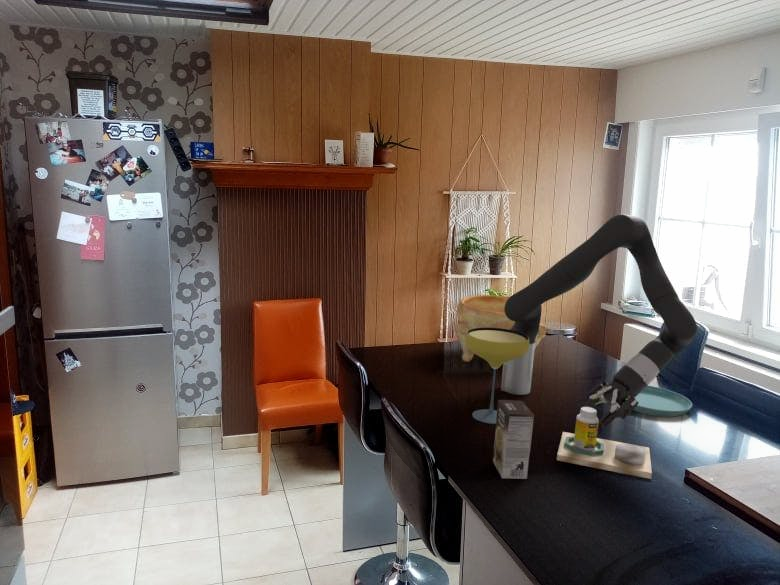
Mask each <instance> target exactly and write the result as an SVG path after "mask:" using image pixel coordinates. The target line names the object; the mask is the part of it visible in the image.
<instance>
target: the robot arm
mask: <svg viewBox="0 0 780 585" xmlns="http://www.w3.org/2000/svg"><path fill="white" fill-rule="evenodd" d="M619 248H624V249H627V251H628V252H629V253H630V254H631V256H632V257H633V259H634V260H635V263H636V265H637V267H638V272H639V276H640V277H639V278H640V283H641V284H640V285H641V288H642V290H643V292H644V294H645V297H646V298H647V300H648V302H649V305H650V306H651V307H652V309H653V311H654V312H655V313H656V314H657V315H660V317H661V319H662V321H663V323H664V325H665V326H666V327H665V328H664V329H663V330H662V331H661V333H660V334H658V336H656V338H654V339H653V340H651V341H649V342H648V343H647V344H646V345H645V346H644V347H643V348H641V350H640V351H639V352H638V353H636V354H635V355H634V356H632V357H631V358H630V359H628V361H627V362H626V363H625V364H624V365H623V366H622V367H621V368H620V369H619V370H618V371H617V372H616V373H614V375H613V377H612V381H611V382H610V383H608V382H607V381H606V380H605V379H601V380H600V381H599V382H597V384H596V385H595V386H593V387H591V389H590V390H589V391H588V392H587V395H588V397H589V399H588V400H587V401H586V402H585V403H584V404H583V405H582V406H581V408H582V407H591V408H594V409H595V407H596V405H598V404H601V403H603V404H606V403H608V404H609V405H610V404H611V405H610V406H611V407H610V410H609V411H608V412H606V413H605V415H603V416H602V417H601V418H600V419H599V424H600V425H601V426H602V427H603V428H606V427H608V426H610V424H612V423H613V422H614V421H615V419H618V418H619V419H620V418H621V419H622V420H624V419H626V418H627V417H628V416H629V415H630V414H631V413H632V412H633V411H634V410H633V409H634V408H635V407H636V406H637V405H638V404H639V402H638V401H637V400H636V398H635V397H636V396H637V395H638V394H639V393H640V392H641V391H643V390H644V389H645V388H646V387H647V386H650V384H651V383H652V382H653V381H654V380H655V378H656V377H657V376H658V374H659V373H660V372H661V371H662V370H664V368H666V366H667V365H668V364H669V363H670V362H671V360H673V358H674V357H676V356H677V355H678V354H680V353H681V352H682V351H683V350H684V349H685V348H687V346H689V344H691V343H692V342H693V340H694V339H695V336H696V335H697V332H698V324H697V322H696V319H695V317H693V315H692V313H691V312H690V311H689V309H688V308H687V307H686V306H685V304H684V303H683V302H682V301H681V299H680V298H679V295H678V293H677V292H676V289H675V288H674V286H673V284H672V283H671V281H670V279H669V277H668V275H667V273H666V270H664V267H663V265H662V262H661V261H660V257H659V255H658V252H657V250H656V247H655V244H654V241H653V239H652V234H651V232H650V229H649V227H648V225H647V223H646V221H645V220H644V219H643V218H641V217H638V216H635V215H630V214H627V213H620V214H616V215H614V216H612V217H610V218H609V219H608V220H607V221H606V222H605V223H603V225H601V226H600V228H598V230H596V232H594V233H593V234H592V235H591V236H590V237H589V238H588V239H586V240H585V241H584V242H583V243H581V244H580V245H579V246H577V247H576V248H574V249H573V250H572V251H570V252H568V254H566V255H565V256H564V257H563V258H561V259H560V260H558V261H557V262H556V263H555V264H554V265H552V266H551V267H550V268H548V270H546V271H545V272H543V273H542V274H541V275H540V276H538V277H537V279H535V280H533V282H531V283H530V284H528V285H527V286H526V287H524V288H522V289H520V290H518V291H517V292H516V293H514V294H512V295H510V296H508V297H509V298H508V300H507V301H506V303H505V307H504V311H505V315H506V316H507V318H509V319H510V320H512V321H515V324H514V325H513V327H512V328H511V329H510V330H513V331H517V332H521V333H523V334H525V335H527V336H528V337H529V349H528V351H527V352H526V353H525V354H524V355H522V356H521V357H519V358H516V359H513V360H510V361H507V362H505V363H503V364H502V376H501V387H500V391H501V392H502V391H503V392H506V393H508V394H512V395H516V396H517V395H518V396H524V395H528V394H530V393H531V389H532V386H531V385H532V379H533V378H532V376H533V366H534V358H535V350H534V348H535V339H536V336H537V334H538V332H539V326H540V323H541V318H542V311H543V310H542V305H543V304H544V303H546V302H548V301H550V300H552V299H555V298H558V297H559V296H561V295H564V294H566V293H568V292H570V291H571V290H573V289H575V288H576V287H577V286H579V285H581V283H583V282H584V281H586V280H588V278H589V277H590V276H591V274H592V273H593V271H594V270H595V268H596V266H597V265H598V263H599V262H600V261H601V260H602V259H603V258H604V257H606V256H607V255H609V254H611V253H612V252H614V251H616V250H617V249H619ZM535 349H536V348H535Z"/></svg>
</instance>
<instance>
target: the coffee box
mask: <svg viewBox="0 0 780 585" xmlns="http://www.w3.org/2000/svg"><path fill="white" fill-rule="evenodd" d="M496 411H497V418H496V424H495V430H494V431H495V432H494V440H493V442H494V443H493V457H492V462H493V465H494V466H495V468H496V470H497V472H498V474H499V475H500V477H501V479H514V480H515V479H518V480H519V479H521V480H526V479H528V471H529V463H530V453H531V448H532V447H531V445H532V435H533V429H534V428H533V426H534V418H535V417H534V416H535V414H534V413H533V412H532V411H531V410H530V408H529V407H528V406H527V405H526V403H525V402H524V400H513V399H498V400H497V409H496Z"/></svg>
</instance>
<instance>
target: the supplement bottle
mask: <svg viewBox="0 0 780 585" xmlns="http://www.w3.org/2000/svg"><path fill="white" fill-rule="evenodd" d="M579 412H580V413H579V414H577V415H576V418H575V419H576V420H575V426H574V427H575V429H574V434H575V435H574V445H575V446H576V447H577V448H579V449H584V450H593V449H595V447H596V440H597V438H598V431H599V424H600V423H599V421H600V419H599V417H598V416H597V415H598V414H597V413H598V410H597V409H596V408H595V407H594V408H591V407H582V406H581V407H580V411H579Z"/></svg>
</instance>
